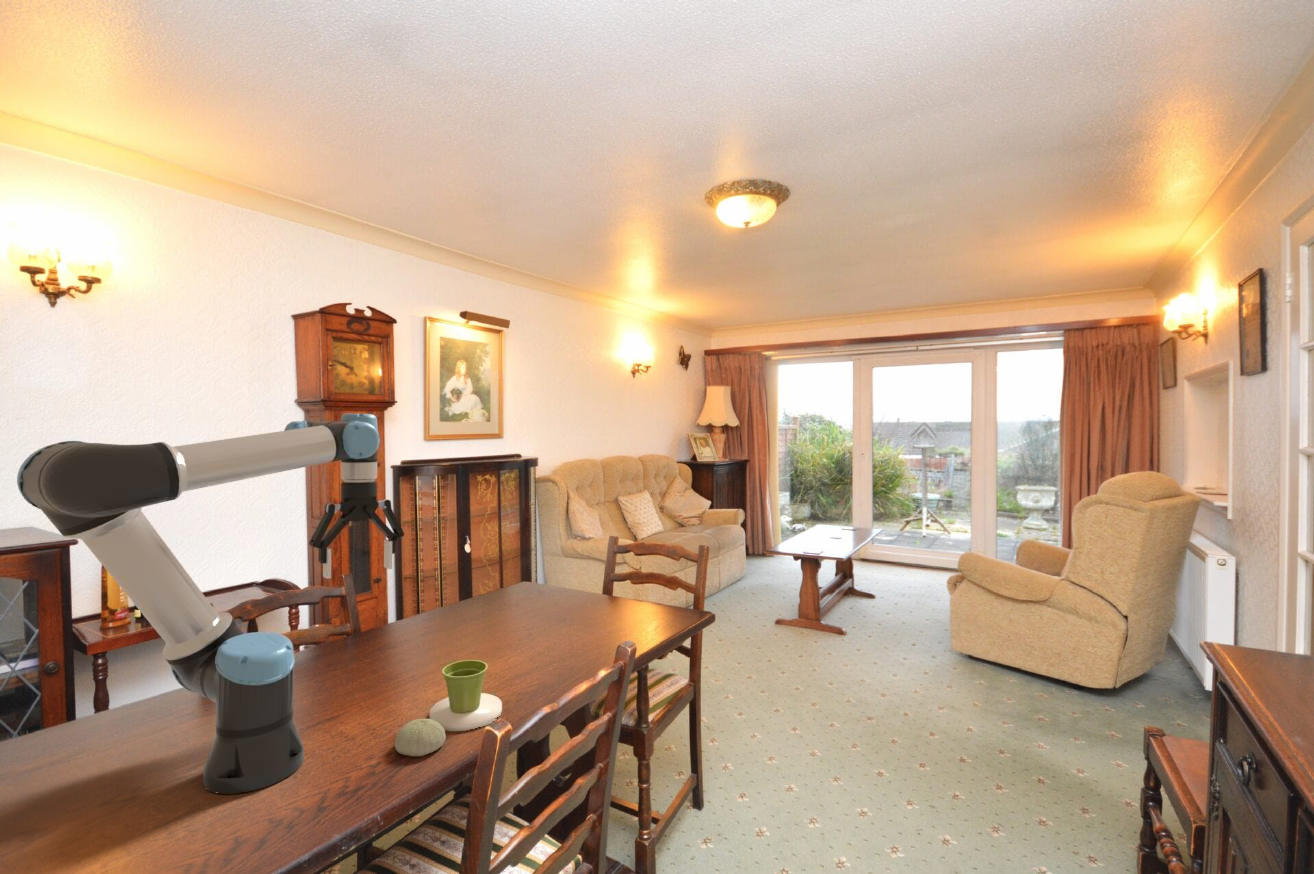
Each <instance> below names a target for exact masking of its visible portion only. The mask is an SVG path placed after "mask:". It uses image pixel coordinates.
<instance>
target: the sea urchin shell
mask: <svg viewBox="0 0 1314 874" xmlns="http://www.w3.org/2000/svg"><path fill="white" fill-rule="evenodd" d="M446 739H447V735H446V731H445V730H444V728H443V727H442V726H441V725H440V724H439V723H438V722H437V721H435V720H433V719H430V718H417V719H413V720H410V721H409V722H407V723H405V724H404V725H403V726H402V727H400V730H399V731H398V733H397V735H396V736H395V738H394V749H395V750H396V752H398V753H399V754H401V755H404V756H409V757H424V756H425V755H429V753H430V754H432V753H433V752H435V751H437V750H439V748H441V747H442V746H443V745H444V744H445V742H446Z"/></svg>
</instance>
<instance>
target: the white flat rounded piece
mask: <svg viewBox="0 0 1314 874" xmlns="http://www.w3.org/2000/svg"><path fill="white" fill-rule="evenodd" d="M429 710H430V711H429V719H433V720H435V721H437V722H438V723H439V724H440V725H441V726H442V727H443V728H444V730H445V732H464V731H465V732H466V731H467V730H468V731H471V730H470V729H473V730H476V729H475V728H477V729H479V728H478V727H481V728H483V726H484V727H486V726H488V725H491V724H493V723H494V722H496V721H497V720H498V719H495V718H497V717H499V716H500V717H501V715H502V713H503V702H502V700H501V699H500V698H499V697H498V696H496V695H493V694H490V693H485V692H481V698H480V705H479V707H478V708H477V709H476V710H474V711H467V712H466V713H455V712H452V710H451V709H450V704H449V697H448V696H447V697H446V698H443V699H441V700H439V701H438V702H436V703H435V704H433V705H432V707H430V709H429ZM500 717H499V718H500ZM493 721H494V722H493ZM468 731H467V732H468Z"/></svg>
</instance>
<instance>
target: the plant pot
mask: <svg viewBox="0 0 1314 874" xmlns="http://www.w3.org/2000/svg"><path fill="white" fill-rule="evenodd" d="M487 670H488V664H487V663H486V662H485V661H482V660H478V659H477V660H476V659H469V660H467V659H464V660H458V661H456V662H455V661H454V662H452V663H450V664H448V665H445V666H444V667H443V668H442V670H441V673H442V675H443V677H444V680H445V682H446V691H447V695H448V696H447V698H448V697H449V704H450V709H451V710H452V712H455V713H466V712H467V711H474V710H476V709H477V708H478V707H479V705H480V698H481V693H482V691H483V683H484V677H485V676H486V671H487Z"/></svg>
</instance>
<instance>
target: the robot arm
mask: <svg viewBox="0 0 1314 874" xmlns="http://www.w3.org/2000/svg"><path fill="white" fill-rule="evenodd" d="M378 426H379V425H378V418H377V416H376V415H374V414H372V413H343V414H342V415H341V418H340V421H335V420H334V421H333V420H332V421H329V420H328V421H327V420H326V421H324V420H323V421H322V420H321V421H315V420H314V421H313V420H301V421H300V420H298V421H297V420H296V421H290V422H289V423H288V424H286V426H285V427H284V430H280V431H275V432H265V433H260V434H259V433H258V434H253V435H246V436H239V437H232V438H224V439H218V440H210V441H204V442H197V443H189V444H183V445H176V446H171V444H168V443H166V442H165V441H160V442H159V441H158V442H151V443H142V444H141V443H140V444H114V443H101V442H87V441H82V440H65V441H59V442H56V443H52V444H49V445H46V446H44V447H42V448H38V449H37V450H35V451H34V452H33V453H31V454H29V456H28V457H26V459H24V461H23V462H22V464H21V465H20V468H19V469H18V472H17V476H16V483H17V484H16V485H17V488H18V490H19V492H20V494H21V496H22V497H23V499H24V500H25V501H26V502H27V503H28V504H30V505H31V506H32V507H35V508H37V509H38V510H41V511H42V513H43V514H44V515H45V516H46V517H47V519H48V520H49V521H50V523H52V525H53V526H54V527H55V528H56V529H57V531H58V532H59V533H60V534H61V536H62V537H64V538H69V539H76V540H80V541H81V540H82V543H84V544H85V545H86V546H87V548H88V549H89V550H90V551H91V553H92V554H93V555H94V556H95V558H96V559H97V560H98V561H99V563H100V564H101V565H102V566H103V568H104V569H105V570H106V571H107V573H108V574H109V575H110V576H111V577H112V578H113V580H114V581H115V583H116V584H117V585H118V586H119V587H120V588H121V589H122V591H123V592H124V594H125V595H126V596H127V597H128V598H129V599H130V601H131V602H132V603H133V605H135V607H136V608H137V609H138V610H139V612H140V613H141V615H143V617H144V618H145V619H146V620H147V621H148V623H149V624H150V625H151V626H152V628H153V629H154V630H155V631H156V633H158V635H159V636H160V637H161V638H162V640H163V642H165V645H164V648H163V650H162V657H163V659H165V661H166V662H167V663H168V665H170V669H171V670H170V671H171V672H172V675H173V677H174V678H175V680H176V682H177V683H178V684H179V685H181V687H182V688H184V689H186V691H189V692H191V693H195V694H197V695H200V696H201V697H203V698H205V699H207V700H208V701H211V702H213V703H214V704H215V714H216V715H215V723H216V724H215V725H216V727H215V739H214V741H213V744H212V746H211V749H210V752H209V755H208V756H207V759H206V762H205V765H204V767H203V776H202V777H203V778H202V779H203V780H202V781H203V783H204V784H203V783H202V784H203V787H204V786H205V787H204V788H205V789H206V788H207V789H208V790H210V791H212V792H211V793H213V792H218V793H221V794H220V795H235V794H242V793H243V792H244V793H248V792H252V791H256V790H260V789H264V788H267V787H269V786H272V785H274V784H277V783H278V782H281V781H283V780H285V779H286V778H288V777H290V776H292V775H293V774H294V773H296V772H297V770H298V769H300V767H301V766H302V764H303V763H304V759H305V747H304V744H303V740H302V739H301V736H300V733H299V731H298V729H297V725H296V723H295V720H294V686H295V685H294V684H295V683H294V682H295V681H294V680H295V678H294V677H295V675H294V672H295V671H294V670H295V662H296V661H295V660H296V658H295V654H294V653H295V652H294V644H293V642H292V641H291V639H290V638H289V637H287V636H285V635H284V634H280V633H277V632H271V631H270V632H267V633H266V631H256V632H247V633H245V632H244V631H243V629H242V628H241V626H240V625H239V623H237V621H236V620H235V618H234V617H233V616H232V614H231V613H230V612H227V611H216V609H215V608H214V606H213V605H212V604H211V603H210V600H208V599H207V597H206V596H205V594H204V593H203V592H202V590H201V589H200V588H199V587H198V585H197V584H196V583H195V580H193V578H192V577H191V576H190V574H189V573H188V572H187V571H186V568H184V567H183V565H182V564H181V562H180V561H179V560H178V558H177V557H176V556H175V554H174V553H173V552H172V550H171V548H169V547H168V545H167V543H166V542H165V541H164V540H163V538H162V536H160V535H159V533H158V531H157V530H156V529H155V527H154V526H153V525H152V524H151V522H150V521H149V520H148V518H147V517H146V515H145V514H144V513H143V511H142V508H145V507H149V506H153V505H157V504H161V503H165V502H169V501H175V500H177V499H179V497H180V496H181V495H182V494H183V493H184V492H188V491H192V490H193V491H194V490H197V489H204V488H208V487H213V486H218V485H223V484H224V485H225V484H228V483H233V482H238V481H243V480H247V479H253V478H259V477H262V476H266V475H272V474H277V473H281V472H282V473H283V472H287V471H291V470H292V471H293V470H297V469H301V468H302V469H303V468H307V467H312V466H317V465H321V464H322V465H323V464H326V463H333V462H338V461H340V479H341V480H343V481H342V482H341V483H340V503H338V504H337V503H336V504H335V503H331V502H327V503H326V504H325V506H324V513H323V516H322V518H321V519H320V521H319V523H318V525H317V527H316V528H315V530H314V533H313V534H312V537H311V538H310V540H309V542H308V545H309V546H310V547H313V548H316V549H318V562H319V564H322V577H323V578H325V579H327V580H328V579H332V548H330V547H329V546H330V545H331V544H332V542H333V541H334V540H335V539H336V538H337V536H338V535H339V534H341V532H342V531H343V529H344V528H345V527H346V526H347V525H348V524H349V523H350V522H352V523H358V522H360V521H362V522H366V521H371V522H372V523H373V525H374V526H376V527H377V528H378V530H379V531H380V532H381V533H382V534H383V535H384V536H385V537H386V538H387V539H383V568H385V569H388V570H390V569H393V554H396V551H397V541H398V540H399V539H400V538H403V537H404V536H405V532H404V531H403V529H402V526H401V524H400V523H399V521H398V519H397V516H396V514H395V512H394V510H393V509H392V501H391V499H386V498H383V499H382V500H378V499H377V497H378V482H377V481H376V479H377V478H378V449H379V447H380V443H381V442H380V441H381V440H380V433H379V431H378V430H379V428H378ZM378 508H380V510H382V512H383V514H384V516H385V518H386V520H387V522H388V524H389V526H390V527H388V525H387V524H386V523H385V522H384V521H383V520H382V519H381V517H380V516H379V515H378V514H377V512H376V511H377V510H378ZM338 511H340V512H341V515H339V517H338V519H337V521H336V522H335V523H334V524H333V526H331V528H330V529H329V530H328V528H329V526H330V525H331V523H332V520H333V518H334V515H335V514H337V513H338ZM390 528H391V529H390ZM327 530H328V532H327ZM207 789H206V790H207ZM208 790H207V791H208ZM210 791H209V792H210ZM241 792H242V793H241ZM218 793H217V794H218ZM222 793H223V794H222Z"/></svg>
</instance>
